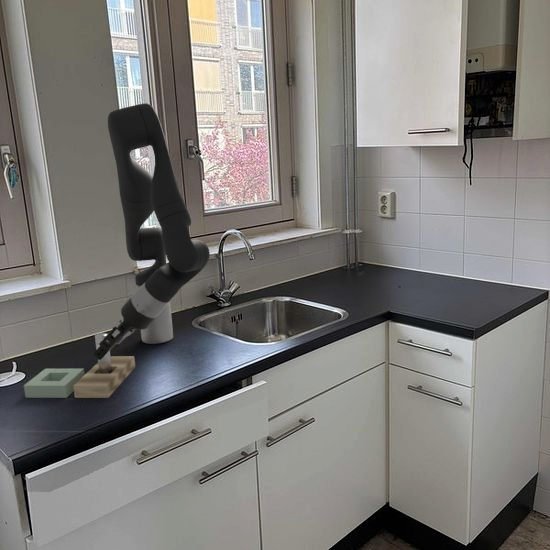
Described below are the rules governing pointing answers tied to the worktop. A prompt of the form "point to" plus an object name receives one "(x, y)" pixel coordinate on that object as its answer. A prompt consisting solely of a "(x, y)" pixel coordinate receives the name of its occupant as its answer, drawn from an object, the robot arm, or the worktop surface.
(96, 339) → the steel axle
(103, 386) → the notched wooden block
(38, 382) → the holder block
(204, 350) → the worktop surface
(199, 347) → the worktop surface
